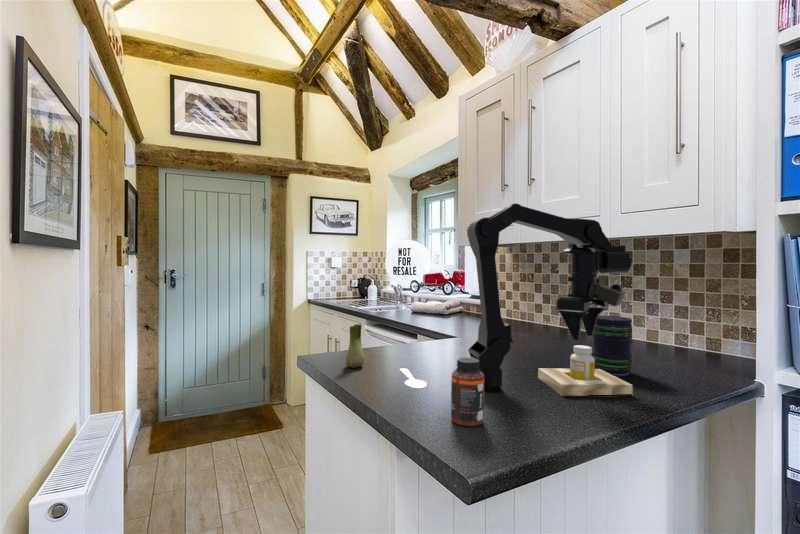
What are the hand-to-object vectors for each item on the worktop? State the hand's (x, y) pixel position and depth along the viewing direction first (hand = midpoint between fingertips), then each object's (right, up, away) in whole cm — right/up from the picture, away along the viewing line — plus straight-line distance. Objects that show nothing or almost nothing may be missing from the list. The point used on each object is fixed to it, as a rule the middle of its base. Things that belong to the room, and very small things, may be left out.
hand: (583, 337), depth 95 cm
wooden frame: (0, -12, 0) cm, 12 cm away
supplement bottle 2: (0, -12, 0) cm, 12 cm away
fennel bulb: (-57, -11, +15) cm, 60 cm away
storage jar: (+14, -12, +14) cm, 24 cm away
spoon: (-41, -12, +5) cm, 43 cm away
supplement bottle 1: (-32, -11, -23) cm, 41 cm away
